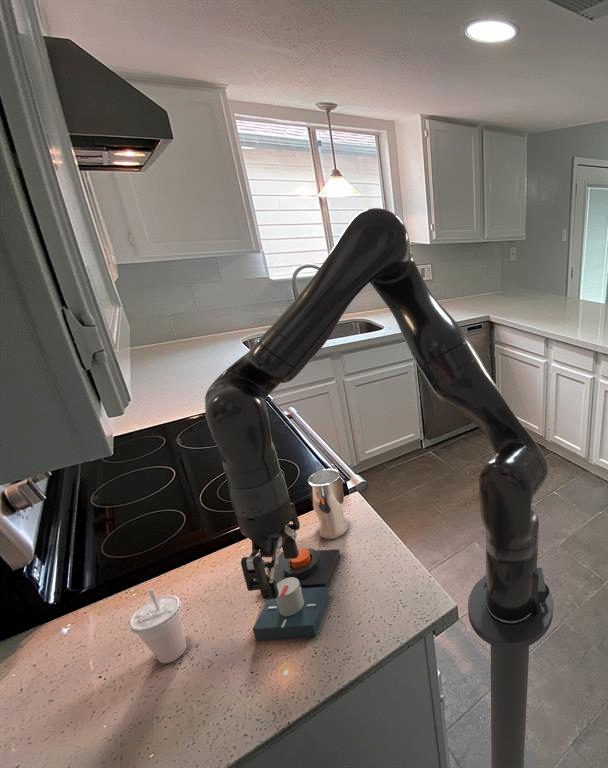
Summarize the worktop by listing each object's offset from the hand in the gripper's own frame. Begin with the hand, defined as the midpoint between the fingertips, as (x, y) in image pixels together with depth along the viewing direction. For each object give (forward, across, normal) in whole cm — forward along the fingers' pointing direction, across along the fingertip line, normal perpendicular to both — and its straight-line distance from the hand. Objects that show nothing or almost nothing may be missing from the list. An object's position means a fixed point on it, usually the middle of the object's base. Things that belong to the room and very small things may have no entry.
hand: (282, 576), depth 71 cm
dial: (+8, -1, 0) cm, 8 cm away
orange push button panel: (+11, -11, -2) cm, 15 cm away
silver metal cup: (+11, -24, 0) cm, 26 cm away
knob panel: (+11, -1, 0) cm, 11 cm away
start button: (+7, -11, -2) cm, 13 cm away
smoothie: (+11, +4, -18) cm, 22 cm away
